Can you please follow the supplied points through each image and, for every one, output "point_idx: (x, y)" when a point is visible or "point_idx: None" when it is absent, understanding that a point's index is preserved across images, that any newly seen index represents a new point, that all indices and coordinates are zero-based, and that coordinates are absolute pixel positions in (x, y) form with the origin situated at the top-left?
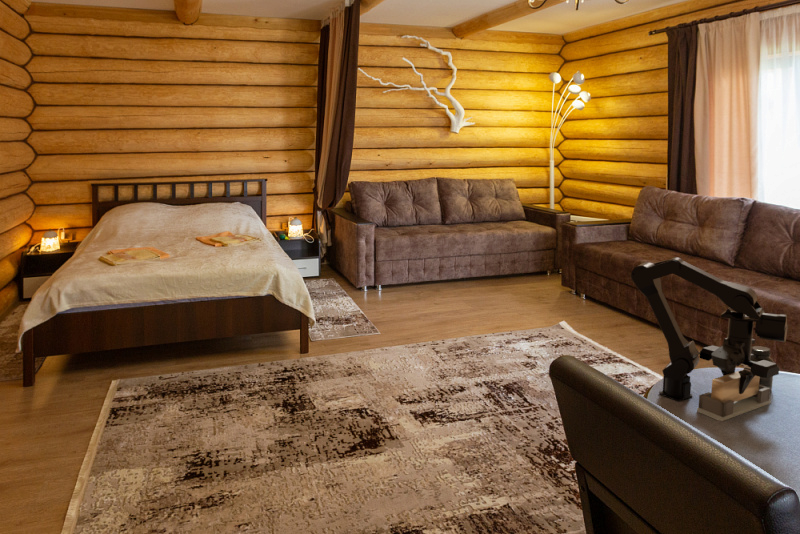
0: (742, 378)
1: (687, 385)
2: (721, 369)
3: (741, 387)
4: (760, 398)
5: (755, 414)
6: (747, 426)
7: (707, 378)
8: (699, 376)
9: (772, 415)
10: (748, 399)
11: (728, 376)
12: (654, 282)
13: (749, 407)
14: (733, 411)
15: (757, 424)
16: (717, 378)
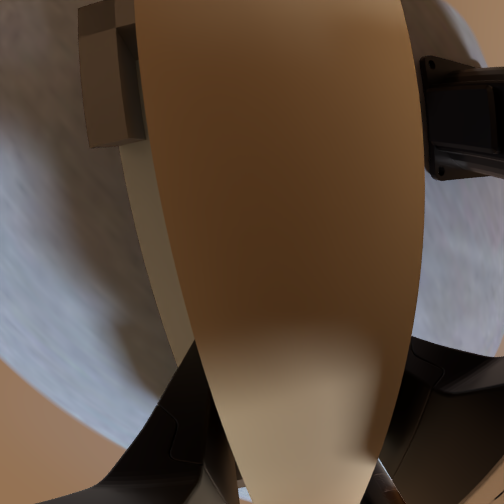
0: (166, 458)
1: (483, 111)
2: (499, 363)
3: (188, 369)
4: None
5: (117, 308)
6: (10, 140)
7: None
8: (477, 350)
9: (92, 366)
10: None
11: (356, 348)
12: None
13: (164, 323)
14: (144, 179)
15: (13, 214)
16: (390, 54)
